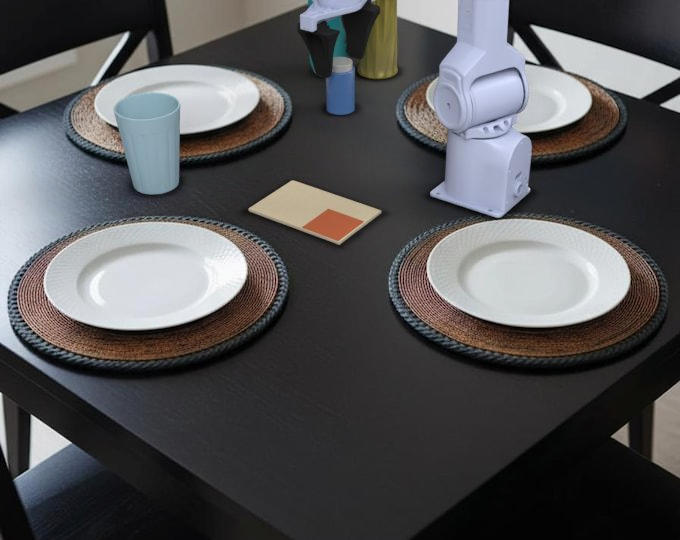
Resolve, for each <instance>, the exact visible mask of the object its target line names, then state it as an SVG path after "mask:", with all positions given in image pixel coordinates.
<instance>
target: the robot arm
mask: <svg viewBox="0 0 680 540" xmlns="http://www.w3.org/2000/svg"><path fill="white" fill-rule="evenodd" d="M373 1H375V0H312V2H314V3H313V4H312V5H311V6H310V7H309V8H307V10H305V11H303V13H301V14H299V22H298V23H297V24H296V26H297V30H296V31H297V33H298V34H299V35H300V37H301V39H302V41H303V42H304V44H305V46H306V48H307V51H308V53H309V57H310V56H311V59H312V62H313V66H314V69H315V73H316V74H315V73H314V74H315V75H316V76H318V77H321V76H322V77H321V78H324V79H326V78H329V77H331V74H332V68H333V54H334V48H335V44H336V41H337V38H338V36H339V33H340V31H339V30H335V29H331V28H330V26H329V25H328V26H327V22H328V21H330V20H332V19H334V18H336V17H338V16H340V15H342V17H343V20H344V25H345V30H346V41H347V51H348V58H349V57H350V58H354V59H357V60H359V59H360V60H361V59H363V57H364V54H365V50H366V46H367V42H368V39H369V35H370V32H371V29H372V27H373V25H374V23H375V21H376V19H377V17H378V15H379V14H380V6H378V5H375V4H371V2H373ZM509 9H510V0H457V29H456V30H457V31H456V33H457V34H456V43H455V44H454V46H453V47H452V48H451V50H450V51H449V52H448V53H447V54H446V56H444V58H443V59H442V60H441V61H440V63H439V69H438V70H439V72H438V79H437V82H436V85H435V87H434V90H433V96H432V97H433V98H432V102H433V103H432V104H433V109H434V112H435V115H436V117H437V119H438V121H439V122H440V123H441V125H442V126H443V127H444V128H445V129H446V130H447V132H446V133H447V135H446V151H445V152H446V153H445V171H444V172H445V173H444V181H442V182H441V183H439V185H437V186H436V187H435V188H433V189H432V190H431V191H430V192H429V196H430V197H432V198H434V199H438V200H441V201H443V202H447V203H450V204H453V205H455V206H460V207H463V208H465V209H468V210H471V211H473V212H474V211H475V212H477V213H481V214H484V215H487V216H490V217H494V218H496V219H500V218H502V217H503V216H505V215H506V214H507V213H508V212H509V211H510V210H511V209H512V208H513V207H515V206H516V205H517V204H519V202H521V200H523V199H524V198H525V197H526V196H527V195H529V193H531V188H530V186H529V180H530V171H531V163H532V162H531V161H532V150H533V146H532V140H531V139H530V137H529V136H527V135H525V134H523V133H522V132H519V131H518V130H516V129H515V128H514V127H513V125H515V124H517V117H518V114H521V112H523V111H524V110H525V109H526V107H527V106H528V103H529V98H530V87H529V81H528V78H527V73H526V56H525V55H524V54H523V53H521V51H520V50H518V49H517V48H515V47H514V46H513V45H511V44H510V43H509V42H508V29H509V27H508V26H509Z"/></svg>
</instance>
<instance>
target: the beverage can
mask: <svg viewBox="0 0 680 540" xmlns="http://www.w3.org/2000/svg"><path fill="white" fill-rule="evenodd" d="M313 3H314V2H312V0H307V6H308V8H309V7H310V6H311V5H312V4H313ZM308 8H307V9H308ZM328 25H329V26H330V28H331V29H335V30H339V31H340V33H339V36H338V38H337V41H336V44H335V48H334V54H333V58H334V57H347V58H349V55H348V51H347V41H346V30H345V25H344V20H343V17H342V15H340V16H338V17H336V18H334V19H332V20H330V21H328V22H327V26H328ZM309 64H310V66H311V68H312V71H313V73H314V74H315V75H316V73H315V69H314V66H313V62H312V59H311V56H310V55H309ZM320 77H321V78H323V77H322V76H320Z"/></svg>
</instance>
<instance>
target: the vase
mask: <svg viewBox="0 0 680 540" xmlns="http://www.w3.org/2000/svg"><path fill="white" fill-rule="evenodd" d="M371 4H375V5H378V6H380V14H379V15H378V17H377V19H376V21H375V23H374V25H373V27H372V29H371V32H370V35H369V39H368V42H367V46H366V50H365V54H364V57H363V59H361V60H360V59H357V60H358V61H357V67H356V70H357V71H356V72H357V74H358V75H359V76H361V77H363V78H365V79H370V80H386V79H387V80H388V79H391V78H393V77H395V76H396V75H397V74H398V72H399V68H398V0H375V1H373V2H371Z"/></svg>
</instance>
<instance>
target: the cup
mask: <svg viewBox="0 0 680 540" xmlns="http://www.w3.org/2000/svg"><path fill="white" fill-rule="evenodd" d="M113 113H114V117H115V121H116V124H117V125H116V126H117V129H118V132H119V135H120V136H119V137H120V140H121V143H122V147H123V151H124V155H125V158H126V162H127V166H128V170H129V174H130V178H131V181H132V182H131V183H132V185H133V188H134V189H135V190H136V191H137V192H139V193H141V194H144V195H152V196H153V195H163V194H166V193H170V192H171V191H173V190H175V189H176V188H177V187H178V186H179V184H180V152H181V151H180V149H181V147H180V142H181V140H180V136H181V135H180V134H181V133H180V132H181V102H180V100H179V99H178V98H177V97H176V96H173V95H171V94H169V93H164V92H140V93H135V94H132V95H128V96H125V97H123V98H121V99H120V100H118V101H117V102H116V103H115V104H114V105H113Z"/></svg>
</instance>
